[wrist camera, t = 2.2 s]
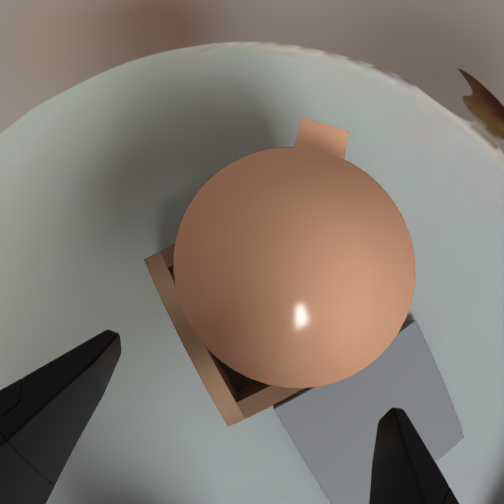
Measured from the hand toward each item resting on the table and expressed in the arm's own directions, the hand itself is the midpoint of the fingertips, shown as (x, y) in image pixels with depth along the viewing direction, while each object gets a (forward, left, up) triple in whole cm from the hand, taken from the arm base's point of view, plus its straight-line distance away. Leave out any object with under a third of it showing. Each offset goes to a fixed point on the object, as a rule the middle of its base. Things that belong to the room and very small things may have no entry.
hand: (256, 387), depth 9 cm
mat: (-9, -5, -10) cm, 15 cm away
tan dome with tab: (+4, -3, -10) cm, 11 cm away
